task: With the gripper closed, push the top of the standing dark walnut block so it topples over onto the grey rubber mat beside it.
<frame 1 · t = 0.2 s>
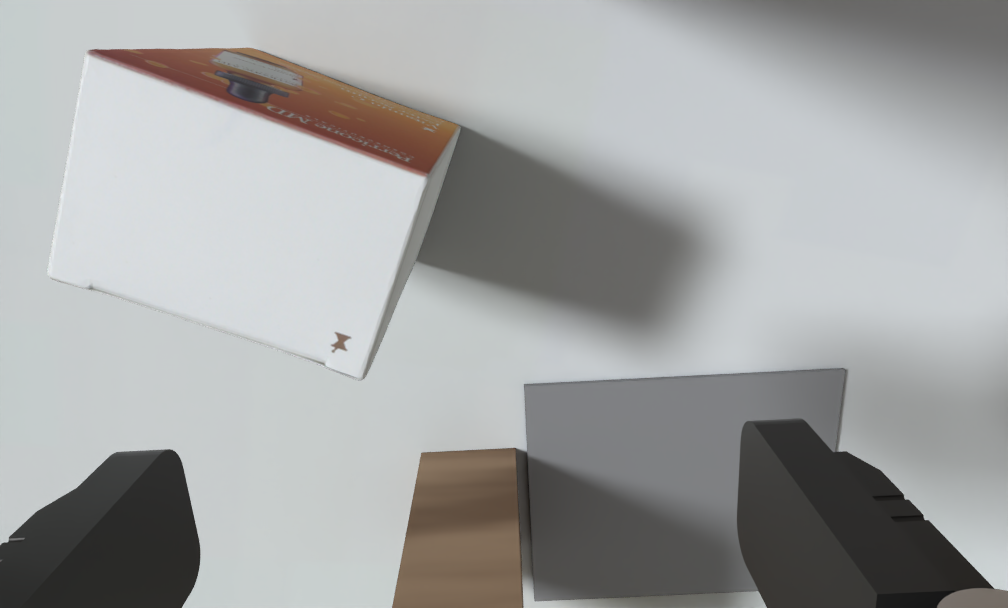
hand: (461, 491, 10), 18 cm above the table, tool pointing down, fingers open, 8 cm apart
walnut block: (472, 500, 31), on the table
mat: (678, 490, 31), on the table
small box: (336, 158, 26), on the table
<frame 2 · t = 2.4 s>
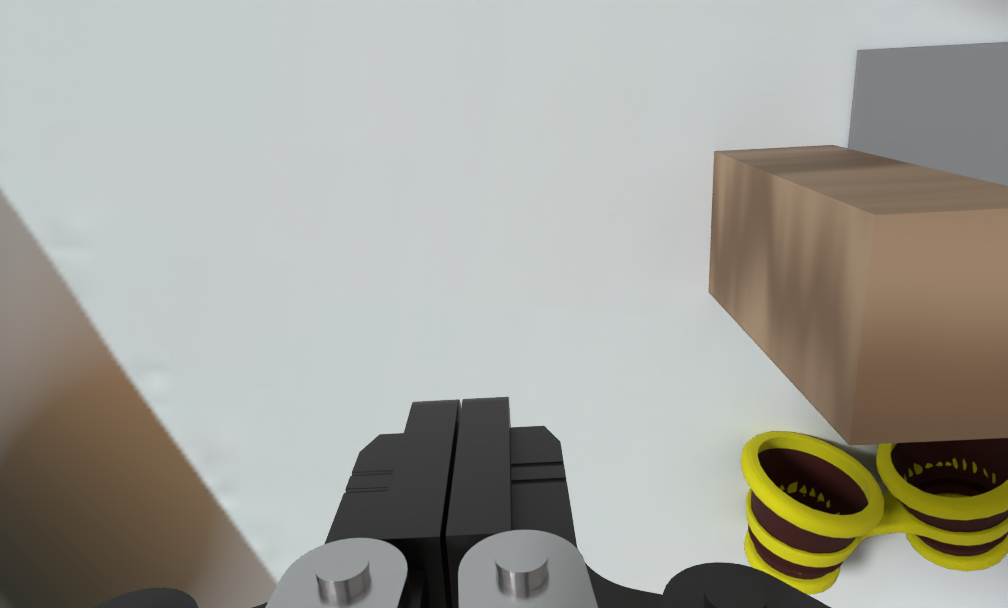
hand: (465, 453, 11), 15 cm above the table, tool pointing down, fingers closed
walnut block: (768, 220, 25), on the table
opera glasses: (848, 467, 28), on the table
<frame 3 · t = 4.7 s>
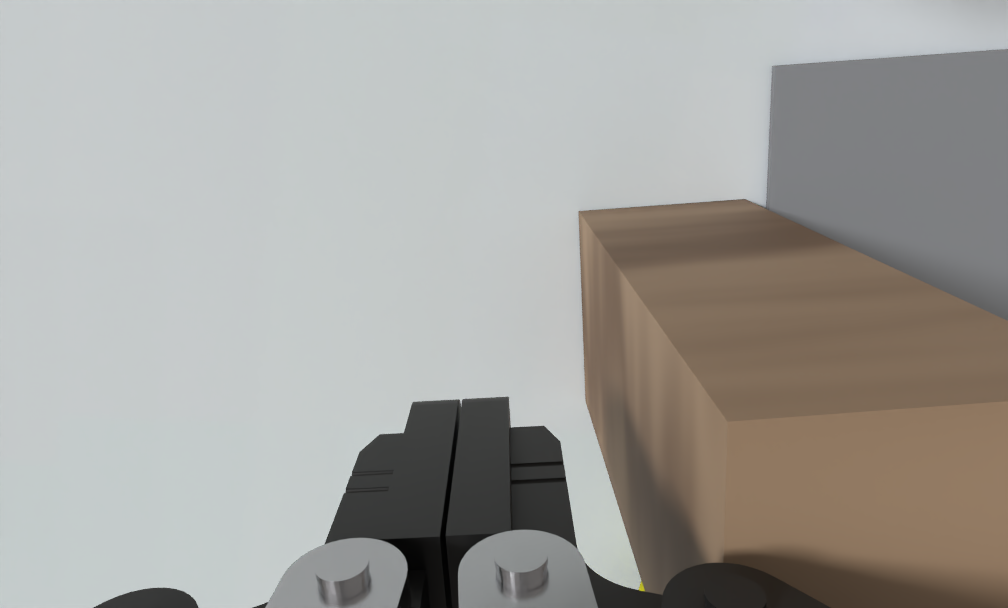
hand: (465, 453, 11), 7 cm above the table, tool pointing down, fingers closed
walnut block: (662, 304, 18), on the table, touching gripper
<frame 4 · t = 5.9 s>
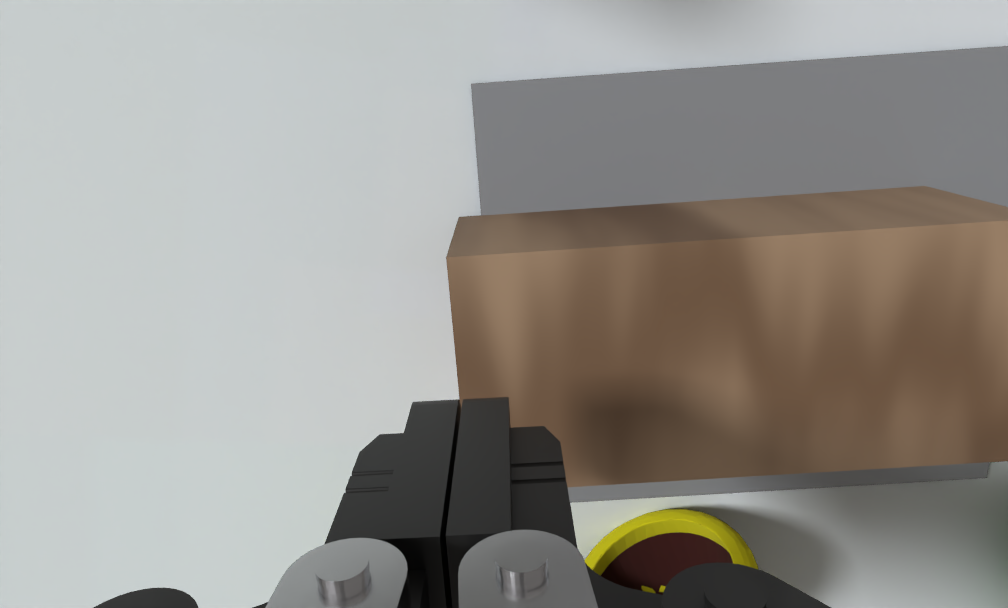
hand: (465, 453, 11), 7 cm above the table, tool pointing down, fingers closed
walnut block: (463, 345, 16), point 2 cm above the table, tilted 90°, touching mat
mat: (748, 295, 18), on the table
opera glasses: (562, 586, 21), on the table
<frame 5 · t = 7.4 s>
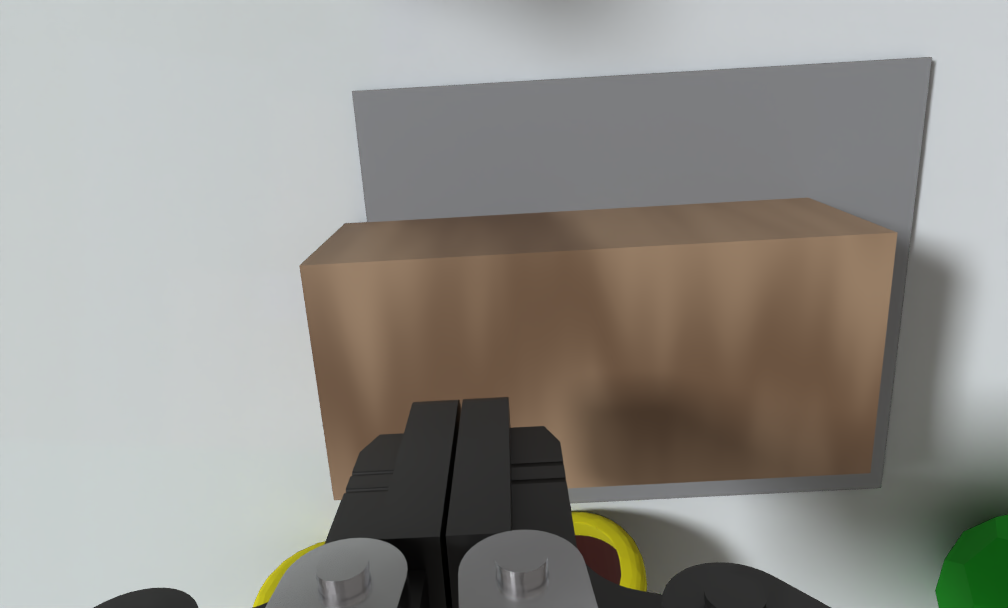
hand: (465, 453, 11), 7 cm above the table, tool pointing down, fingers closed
polyhedron: (987, 549, 20), on the table
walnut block: (339, 351, 16), point 2 cm above the table, tilted 90°, touching mat
mat: (638, 304, 18), on the table
opera glasses: (466, 586, 21), on the table
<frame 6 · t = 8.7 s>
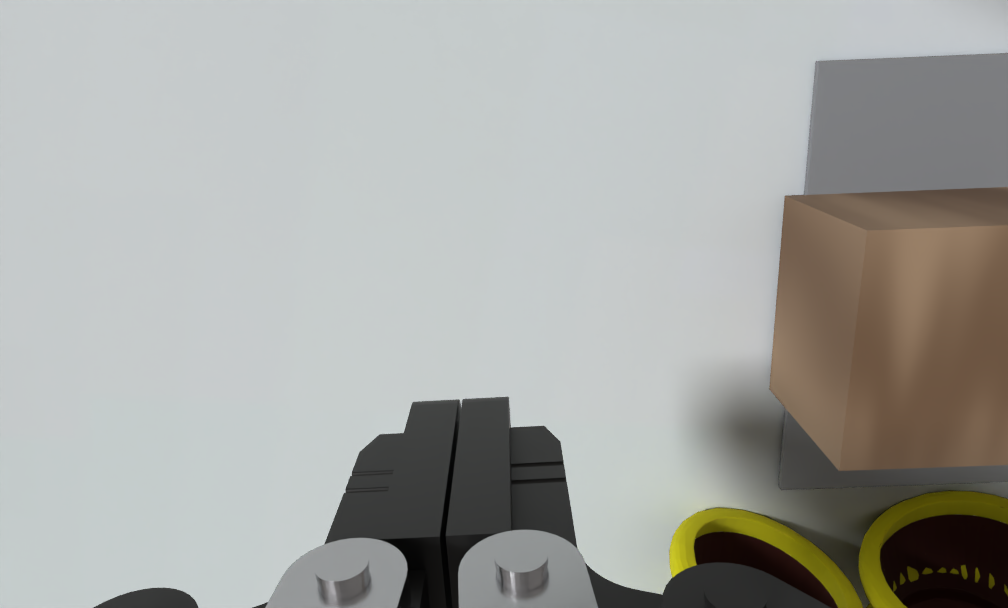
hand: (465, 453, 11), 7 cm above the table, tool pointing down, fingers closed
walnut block: (809, 323, 16), point 2 cm above the table, tilted 90°, touching mat
opera glasses: (818, 562, 21), on the table
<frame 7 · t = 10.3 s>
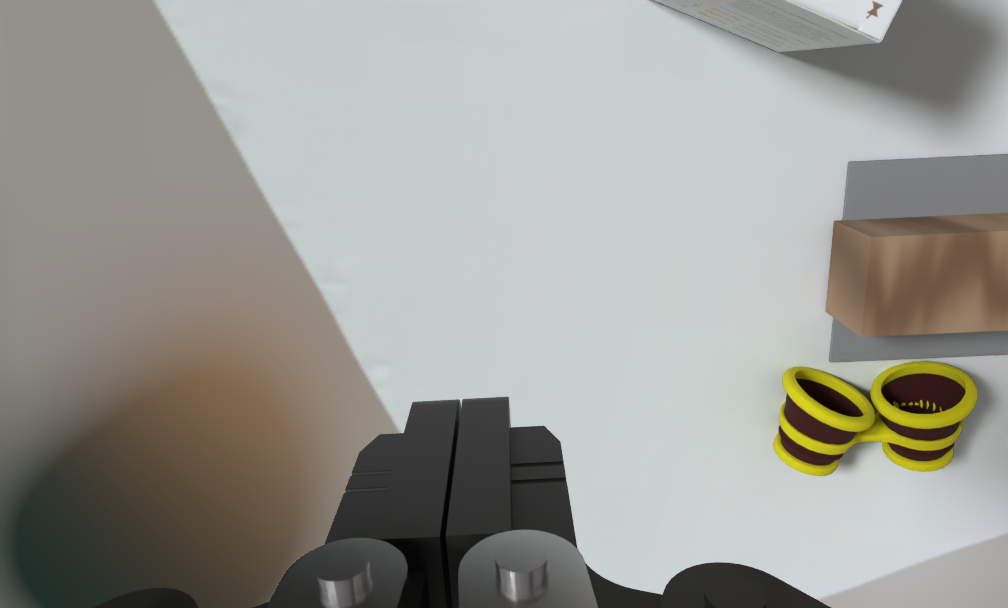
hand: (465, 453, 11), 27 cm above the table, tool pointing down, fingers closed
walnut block: (847, 277, 36), point 2 cm above the table, tilted 90°, touching mat
mat: (960, 259, 38), on the table
opera glasses: (848, 400, 41), on the table
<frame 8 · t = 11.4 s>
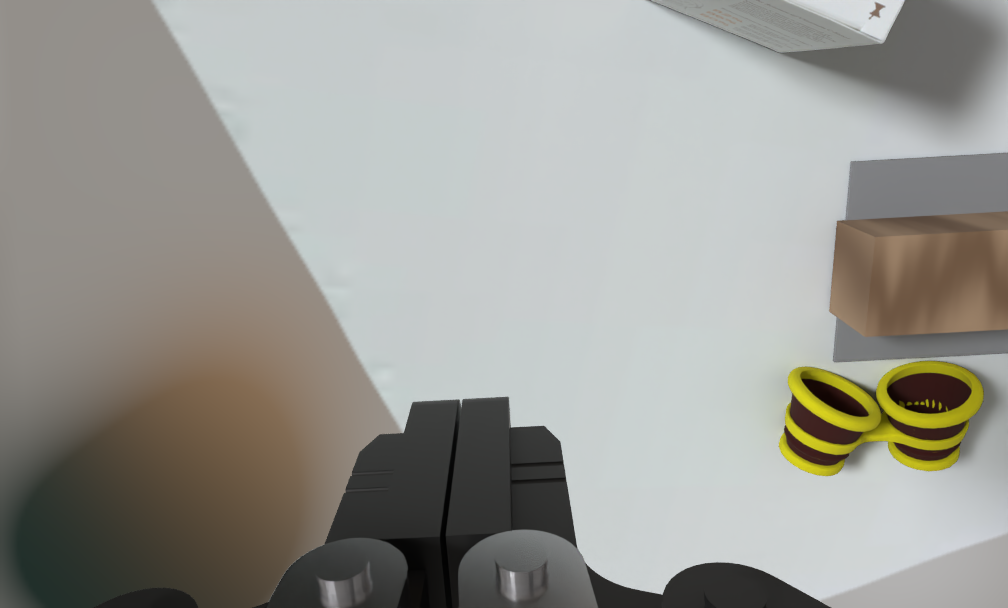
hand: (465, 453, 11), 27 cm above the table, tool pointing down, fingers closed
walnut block: (850, 277, 36), point 2 cm above the table, tilted 90°, touching mat
mat: (963, 258, 38), on the table
opera glasses: (854, 400, 41), on the table
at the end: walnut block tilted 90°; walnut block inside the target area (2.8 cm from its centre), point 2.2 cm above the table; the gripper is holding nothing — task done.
